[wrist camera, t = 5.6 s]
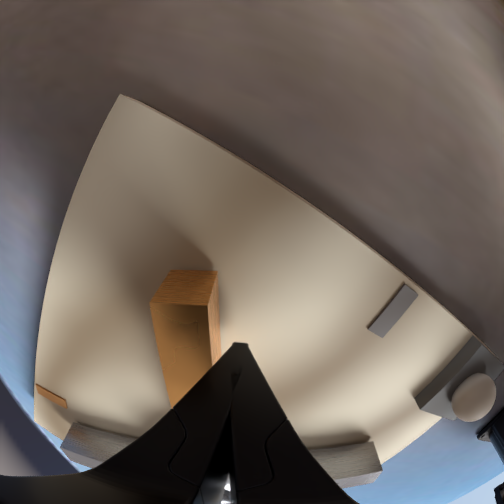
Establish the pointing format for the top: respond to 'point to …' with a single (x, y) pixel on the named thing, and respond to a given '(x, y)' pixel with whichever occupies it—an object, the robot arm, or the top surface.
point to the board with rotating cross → (240, 299)
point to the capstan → (193, 369)
